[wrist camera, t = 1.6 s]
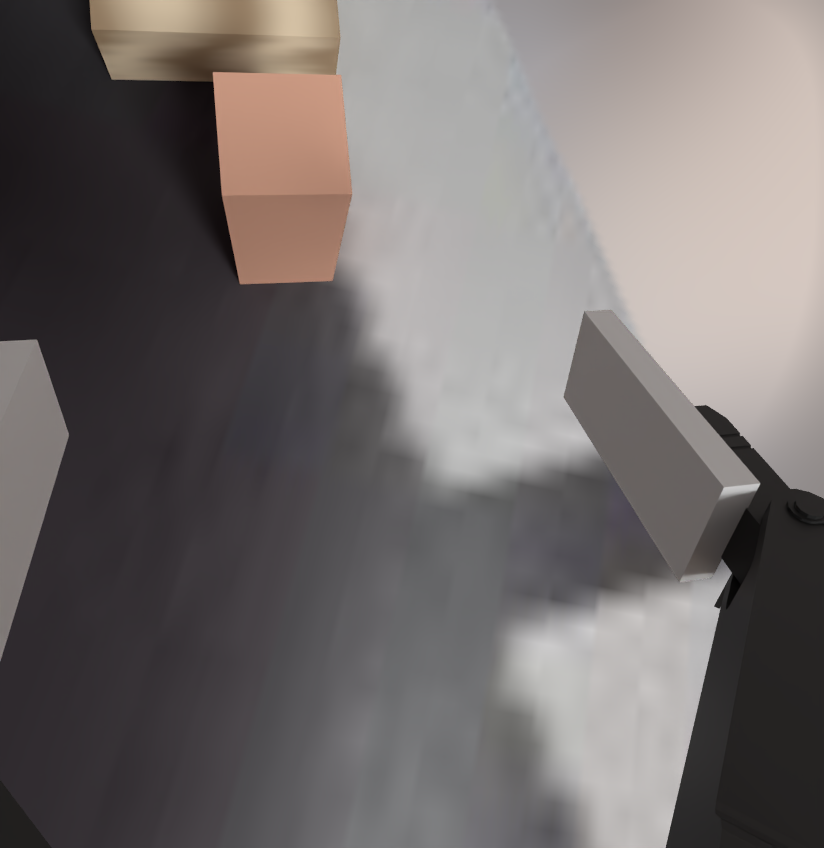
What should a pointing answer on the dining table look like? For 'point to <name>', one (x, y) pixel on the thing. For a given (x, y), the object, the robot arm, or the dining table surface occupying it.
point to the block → (283, 173)
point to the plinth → (215, 37)
